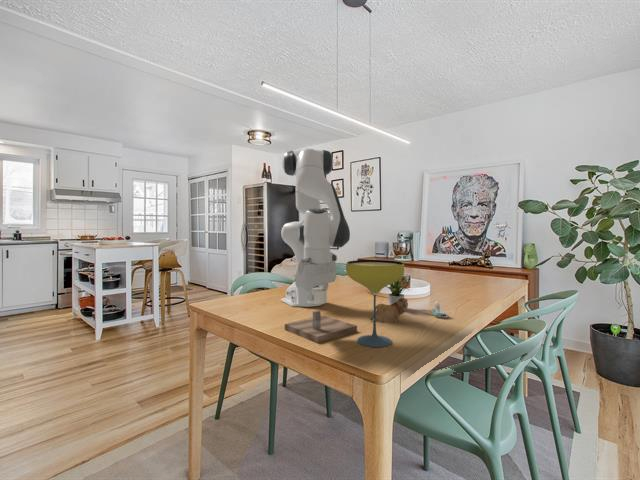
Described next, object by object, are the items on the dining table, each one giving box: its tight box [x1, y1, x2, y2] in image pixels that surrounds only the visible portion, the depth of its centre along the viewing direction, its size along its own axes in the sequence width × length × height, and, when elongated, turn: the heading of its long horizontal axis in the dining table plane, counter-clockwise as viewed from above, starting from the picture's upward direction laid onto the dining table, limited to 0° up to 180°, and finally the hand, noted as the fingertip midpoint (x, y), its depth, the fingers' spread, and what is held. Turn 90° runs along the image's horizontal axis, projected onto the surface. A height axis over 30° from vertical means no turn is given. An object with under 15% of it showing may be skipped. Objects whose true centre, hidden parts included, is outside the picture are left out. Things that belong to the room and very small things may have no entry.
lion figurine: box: [369, 297, 409, 324], centre depth 126 cm, size 15×5×9 cm, turn 93°
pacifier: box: [431, 300, 449, 319], centre depth 133 cm, size 7×6×6 cm
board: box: [284, 310, 358, 344], centre depth 115 cm, size 18×18×8 cm
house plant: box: [385, 276, 412, 305], centre depth 144 cm, size 14×14×16 cm
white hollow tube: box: [307, 288, 328, 305], centre depth 109 cm, size 6×6×4 cm
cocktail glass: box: [345, 259, 405, 348], centre depth 103 cm, size 18×18×25 cm
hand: (316, 298), depth 109 cm, fingers closed on white hollow tube, 6 cm apart
